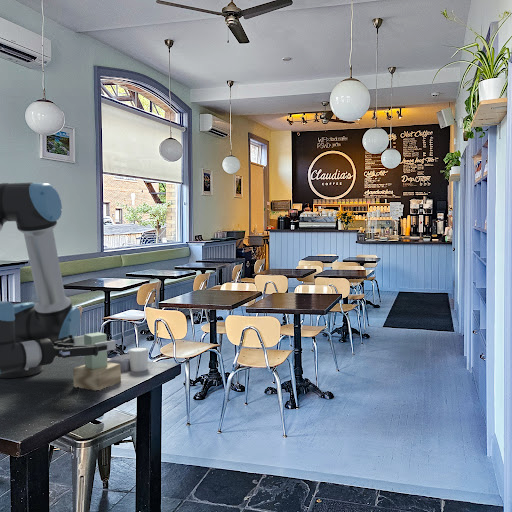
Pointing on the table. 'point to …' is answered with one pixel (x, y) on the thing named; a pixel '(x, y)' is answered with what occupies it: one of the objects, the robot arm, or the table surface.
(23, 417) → the table surface
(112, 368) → the oak block
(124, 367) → the stone block
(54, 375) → the table surface
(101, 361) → the sage block
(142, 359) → the white cup
